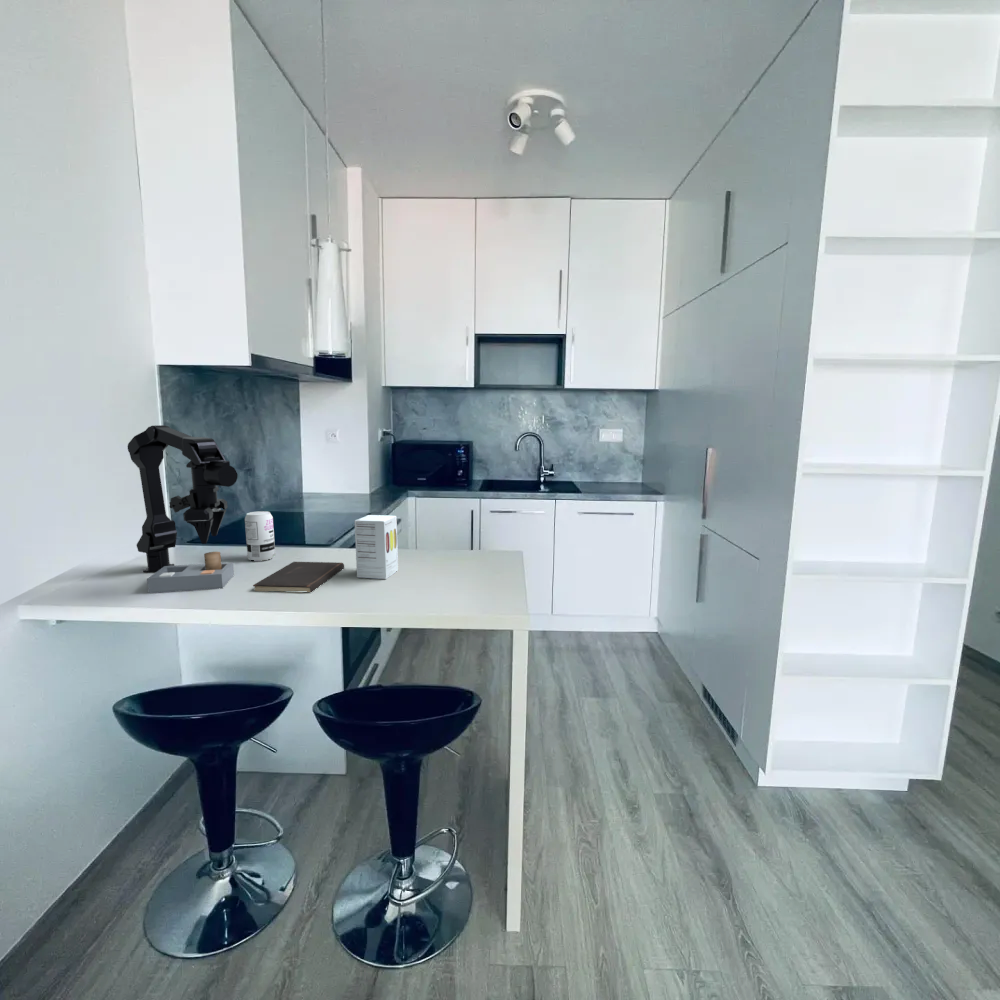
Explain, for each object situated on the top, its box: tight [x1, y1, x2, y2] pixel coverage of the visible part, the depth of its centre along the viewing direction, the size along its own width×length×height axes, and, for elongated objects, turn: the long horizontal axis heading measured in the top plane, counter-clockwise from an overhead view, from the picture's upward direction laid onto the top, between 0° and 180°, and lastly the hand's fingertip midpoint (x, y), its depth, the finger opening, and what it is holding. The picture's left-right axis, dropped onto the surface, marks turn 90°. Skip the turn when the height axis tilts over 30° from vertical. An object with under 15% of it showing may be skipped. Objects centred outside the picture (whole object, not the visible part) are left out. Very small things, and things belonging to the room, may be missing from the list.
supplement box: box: [354, 514, 399, 580], centre depth 159 cm, size 10×9×17 cm
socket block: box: [146, 561, 235, 594], centre depth 152 cm, size 12×18×4 cm, turn 102°
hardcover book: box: [252, 561, 345, 593], centre depth 156 cm, size 16×23×2 cm
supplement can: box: [244, 510, 276, 562], centre depth 176 cm, size 8×8×15 cm
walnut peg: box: [203, 551, 222, 570], centre depth 154 cm, size 4×4×8 cm
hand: (209, 539), depth 153 cm, fingers open, 9 cm apart
